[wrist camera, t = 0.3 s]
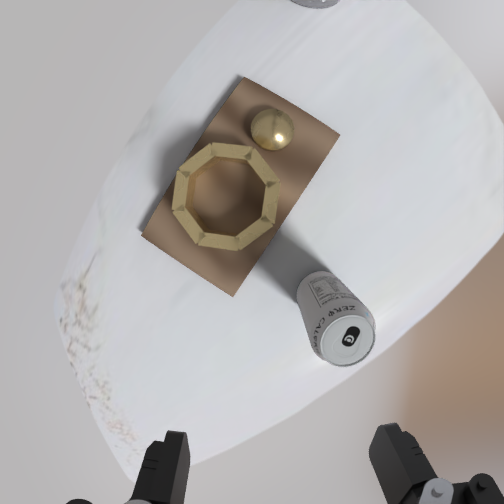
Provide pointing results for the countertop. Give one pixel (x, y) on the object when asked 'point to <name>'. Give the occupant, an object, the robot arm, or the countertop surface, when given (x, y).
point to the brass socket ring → (264, 135)
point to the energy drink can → (335, 320)
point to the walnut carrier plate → (241, 186)
